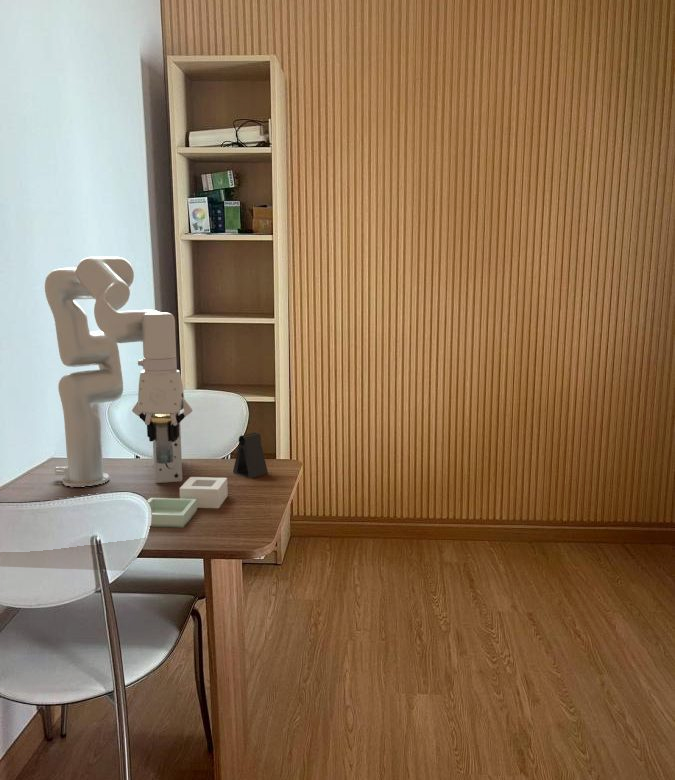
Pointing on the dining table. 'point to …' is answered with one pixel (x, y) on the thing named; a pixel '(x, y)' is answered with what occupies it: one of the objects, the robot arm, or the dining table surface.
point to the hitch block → (205, 491)
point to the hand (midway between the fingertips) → (163, 439)
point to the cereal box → (169, 464)
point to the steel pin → (163, 438)
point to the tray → (172, 511)
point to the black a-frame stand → (250, 457)
